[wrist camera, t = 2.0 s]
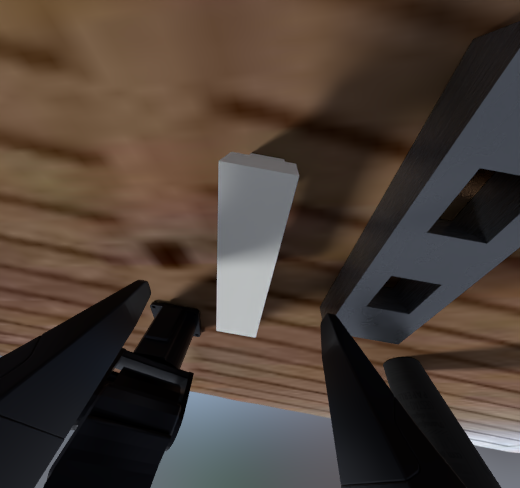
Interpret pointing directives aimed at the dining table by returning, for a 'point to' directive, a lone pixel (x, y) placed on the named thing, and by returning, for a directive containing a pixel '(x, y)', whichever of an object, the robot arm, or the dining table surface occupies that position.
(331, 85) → the dining table surface
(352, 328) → the rail
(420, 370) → the drinking cup
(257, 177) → the clip
